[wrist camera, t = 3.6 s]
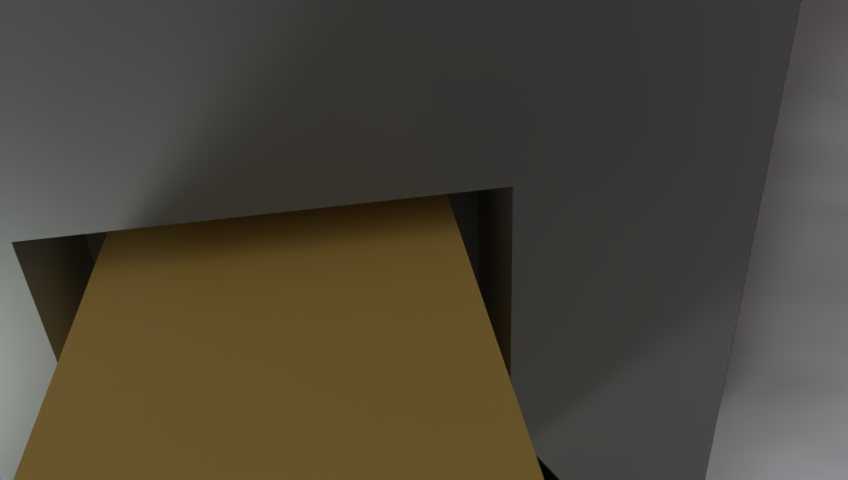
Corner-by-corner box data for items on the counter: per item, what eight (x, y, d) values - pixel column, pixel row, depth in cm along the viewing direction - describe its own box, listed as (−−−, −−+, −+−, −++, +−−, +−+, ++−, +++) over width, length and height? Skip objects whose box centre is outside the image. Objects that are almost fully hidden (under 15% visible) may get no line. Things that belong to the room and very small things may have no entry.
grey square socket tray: (30, 571, 14) (-15, 713, 12) (-294, -84, 8) (-488, -26, 6) (626, 483, 15) (680, 601, 13) (707, -156, 9) (826, -128, 7)
